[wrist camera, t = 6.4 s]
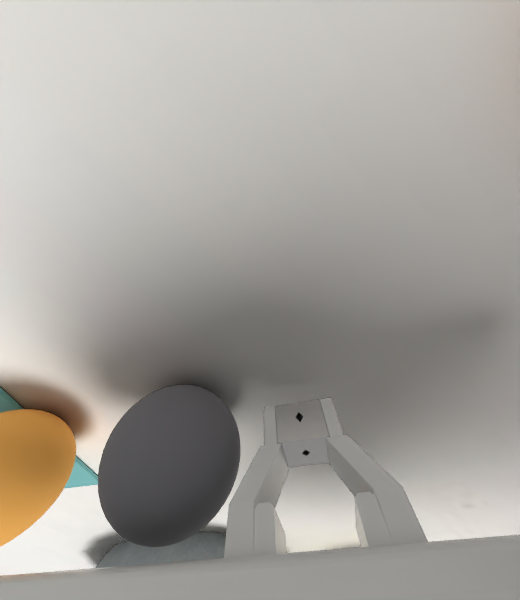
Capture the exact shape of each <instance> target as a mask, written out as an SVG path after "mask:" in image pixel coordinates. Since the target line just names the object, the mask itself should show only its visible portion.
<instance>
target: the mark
mask: <svg viewBox="0 0 520 600" xmlns="http://www.w3.org/2000/svg"><path fill="white" fill-rule="evenodd" d="M19 409H23V408H22V407H21V406H20V405H19V404H18V403H17V402H16V401H15V400H14V399H12V398H11V397H10V396H9V395H8V394H7V393H6V392H5V391H4V390H3V389H2V388H0V413H1V412H5V411H11V410H19ZM97 484H98V476H97V475H96V474H95V473H94V472H93V471H92V470H90V469H89V468H88V467H87V466H86V465H85V464H84V463H83V462H82V461H81V460H79V459H78V458H77V457H75V463H74V467H73V470H72V472H71V475H70V477H69V480H68V482H67V483H66V485H65V487H64V488H71V487H80V486H88V485H97Z"/></svg>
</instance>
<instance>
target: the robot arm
mask: <svg viewBox="0 0 520 600" xmlns="http://www.w3.org/2000/svg"><path fill="white" fill-rule="evenodd" d="M263 412H264V445H263V446H260V448H259V450H258V452H257V454H256V456H255V457H254V459H253V461H252V463H251V465H250V467H249V469H248V470H247V472H246V474H245V476H244V478H243V480H242V481H241V483H240V485H239V487H238V489H237V491H236V493H235V494H234V496H233V498H232V500H231V502H230V504H229V510H228V521H227V531H226V541H225V552H224V558H219V559H206V560H194V561H181V562H168V563H156V564H143V565H131V566H118V567H105V568H93V569H80V570H68V571H55V572H43V573H31V574H18V575H3V576H0V600H520V535H508V536H495V537H483V538H470V539H458V540H445V541H432V542H428V541H427V538H426V536H425V534H424V532H423V530H422V528H421V525H420V523H419V521H418V519H417V517H416V515H415V513H414V510H413V508H412V506H411V504H410V502H409V500H408V497H407V495H406V493H405V491H404V489H403V487H402V486H401V485H400V484H399V483H398V482H397V481H396V480H395V479H394V478H393V477H391V476H390V475H389V474H388V473H387V472H386V471H385V470H384V469H383V468H382V467H381V466H380V465H379V464H378V463H377V462H376V461H375V460H374V459H373V458H371V457H370V456H369V455H368V454H367V453H366V452H365V451H364V450H363V449H362V448H361V447H360V446H359V445H358V444H357V443H356V442H355V441H354V440H353V439H351V438H350V437H349V436H348V435H344V434H343V431H342V428H341V425H340V422H339V419H338V416H337V413H336V410H335V407H334V404H333V401H332V399H331V398H325V399H316V400H310V401H304V402H298V403H293V404H285V405H277V406H269V407H264V411H263ZM324 463H329V464H330V466H331V467H332V468H333V469H334V471H335V472H336V473H337V475H338V476H339V477H340V478H341V480H342V481H343V482H344V483H345V485H346V486H347V487H348V489H349V490H350V491H351V492H352V494H353V495H354V496H355V516H356V529H357V533H358V537H359V541H360V544H361V547H357V548H345V549H332V550H319V551H307V552H294V553H287V551H286V539H285V532H284V530H283V527H282V525H281V522H280V520H279V518H278V515H277V513H276V510H275V507H276V504H277V501H278V498H279V496H280V493H281V490H282V487H283V484H284V482H285V479H286V476H287V473H288V470H289V468H290V467H297V466H304V465H312V464H324Z"/></svg>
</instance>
